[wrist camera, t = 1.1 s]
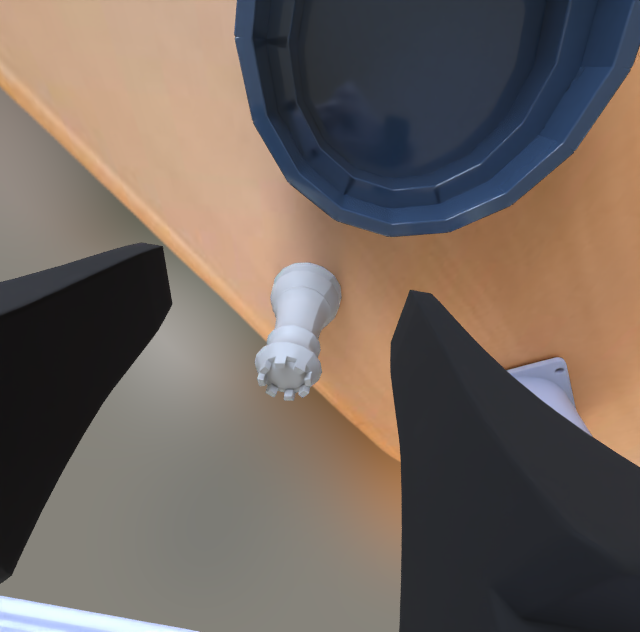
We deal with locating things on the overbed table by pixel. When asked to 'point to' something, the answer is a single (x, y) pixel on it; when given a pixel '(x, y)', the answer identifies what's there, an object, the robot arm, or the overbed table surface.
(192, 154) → the overbed table surface
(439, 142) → the bowl
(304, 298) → the rook chess piece
